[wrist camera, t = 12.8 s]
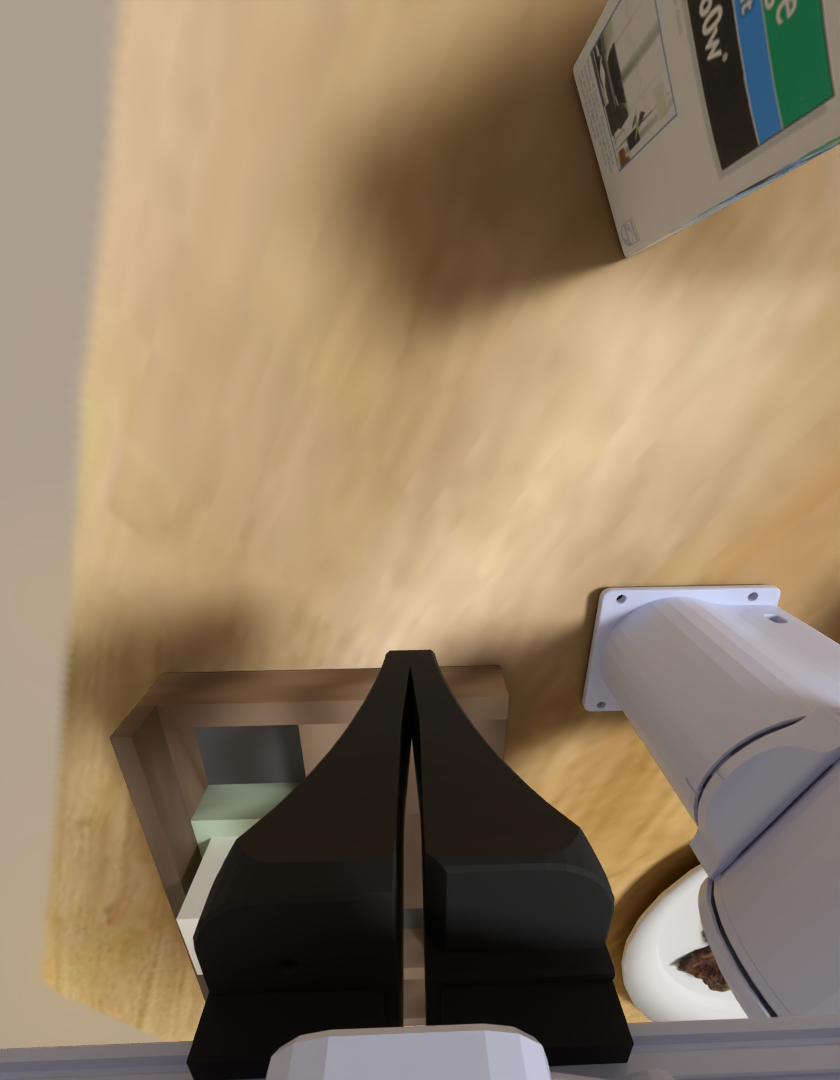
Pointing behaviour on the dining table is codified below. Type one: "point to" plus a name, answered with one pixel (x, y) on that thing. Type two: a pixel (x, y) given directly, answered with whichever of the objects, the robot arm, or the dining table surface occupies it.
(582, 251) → the dining table surface
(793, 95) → the light bulb box
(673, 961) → the plated food
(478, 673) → the brown wooden tray
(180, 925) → the cream block
